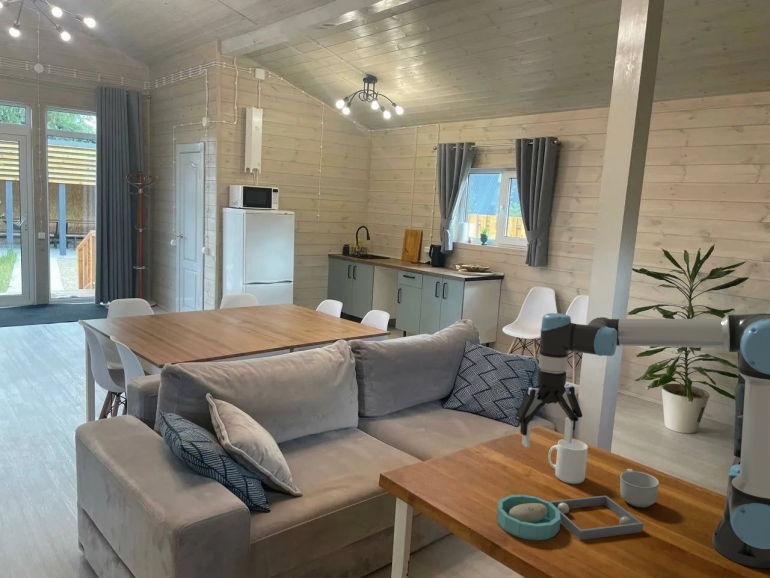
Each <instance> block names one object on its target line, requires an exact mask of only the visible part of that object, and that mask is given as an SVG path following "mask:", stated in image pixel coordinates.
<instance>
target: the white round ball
mask: <svg viewBox="0 0 770 578" xmlns="http://www.w3.org/2000/svg"><path fill="white" fill-rule="evenodd" d="M558 509H559V510H560V511H561V512H562V513H563V514H564V515H566V514H568V513H569V511H570V508H569V506H568V505H567V504H566V503H560V504H559V505H558Z"/></svg>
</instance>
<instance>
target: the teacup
mask: <svg viewBox="0 0 770 578" xmlns="http://www.w3.org/2000/svg"><path fill="white" fill-rule="evenodd" d="M619 478H620V480H619V492H620V496H621V498H623V500H624V501H626V503H627V504H629V506H633V507H635V508H641V509H642V508H648V507H649V506H652V505H654V504H655V503H656V502H657V499H658V493H659V492H658V491H659V485H660V482H659V480H658V478H656V477H655V476H653V475H651V474H649V473H646V472H642V471H636V470H635V471H634V470H633V469H632V468H627V469H626V470H625V471H624V472H622V473H621V474H620V476H619Z"/></svg>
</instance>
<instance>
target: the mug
mask: <svg viewBox="0 0 770 578" xmlns="http://www.w3.org/2000/svg"><path fill="white" fill-rule="evenodd" d="M554 450H557V451H556V459H555V464H554V463H553V461H552V459H551V454H552V452H553V451H554ZM588 451H589V445H588V444H587V443H585V441H582V440H578V439H573V438H572V443H568V442H566V441H565V440H564V438H562V439H558V441H557V444H555V445H553V446H551V447H550V449H549V450H548V456H547V458H548V460H547V461H548V463H549V465H550V467H552V468H553V469H554V470H555V472H554V474H555V475H554V476H555V477H556V478H557V479H558V480H559V481H561V482H564V483H566V484H569V485H571V484H572V485H577V484H578V485H579V484H581V483H583V482H584V481H585V480H586V479H585V477H586V469H587V460H588Z"/></svg>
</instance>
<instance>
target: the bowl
mask: <svg viewBox="0 0 770 578" xmlns="http://www.w3.org/2000/svg"><path fill="white" fill-rule="evenodd" d="M527 503H539V504H543V505H544V506H546V507H547V509H548V514H547V516H546V517H545V518H544V519H543V520H541V521H538V522H535V523H528V522H522V521H519V520H517V519H515V518H513V517H511V516H509V511H510V510H511V509H512V508H513V507H515V506H517V505H520V504H527ZM496 512H497V515H496V522H497V523H498V525H499V526H500V528H501V529H502V530H504V531H505V532H506V533H508V534H509V535H512V536H514V537H516V538H520V539H522V540H528V541H546V540H550V539H552V538H554V537H555V536H556V535H557V534H558V533H559V531H560V528H561V522H560V511H559V510H558V509H557V508H556V507H555V506H554V505H553V504H552V503H550V502H549V501H548V500H545V499H542V498H541V497H538V496H533V495H526V494H512V495H511V494H510V495H507V496H505V497H502V498H500V499H499V500H498V504H497V511H496Z"/></svg>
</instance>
